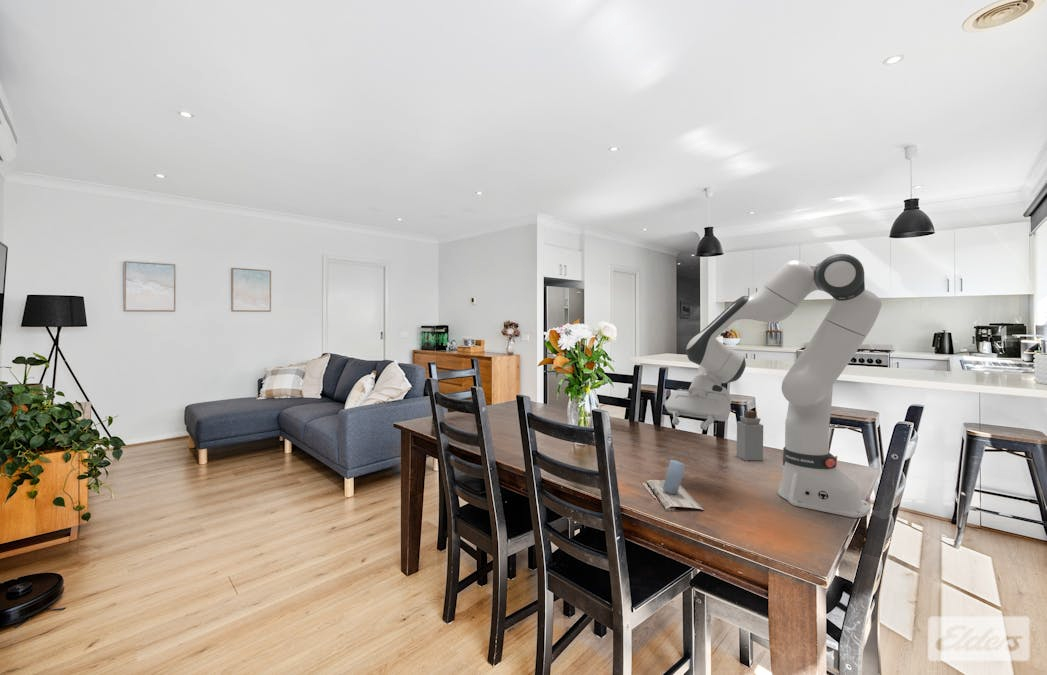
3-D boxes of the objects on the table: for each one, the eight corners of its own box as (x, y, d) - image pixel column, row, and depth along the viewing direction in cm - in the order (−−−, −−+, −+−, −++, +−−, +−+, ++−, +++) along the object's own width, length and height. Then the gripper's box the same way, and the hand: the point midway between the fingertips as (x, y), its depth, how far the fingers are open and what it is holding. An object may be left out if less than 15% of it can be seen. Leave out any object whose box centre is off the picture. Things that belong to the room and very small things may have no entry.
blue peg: (680, 494, 138) (688, 465, 138) (672, 495, 135) (680, 465, 135) (667, 487, 141) (675, 459, 141) (659, 488, 138) (667, 459, 138)
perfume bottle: (762, 460, 172) (763, 413, 171) (744, 460, 172) (745, 413, 171) (754, 455, 179) (754, 409, 178) (736, 455, 179) (737, 409, 178)
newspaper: (641, 485, 149) (641, 478, 149) (678, 489, 149) (679, 481, 149) (660, 514, 127) (661, 505, 127) (704, 519, 127) (705, 510, 126)
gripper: (670, 382, 157) (655, 415, 151) (731, 388, 142) (716, 425, 136) (677, 394, 160) (662, 426, 154) (737, 401, 145) (723, 437, 139)
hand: (688, 426), depth 145 cm, fingers open, 8 cm apart
